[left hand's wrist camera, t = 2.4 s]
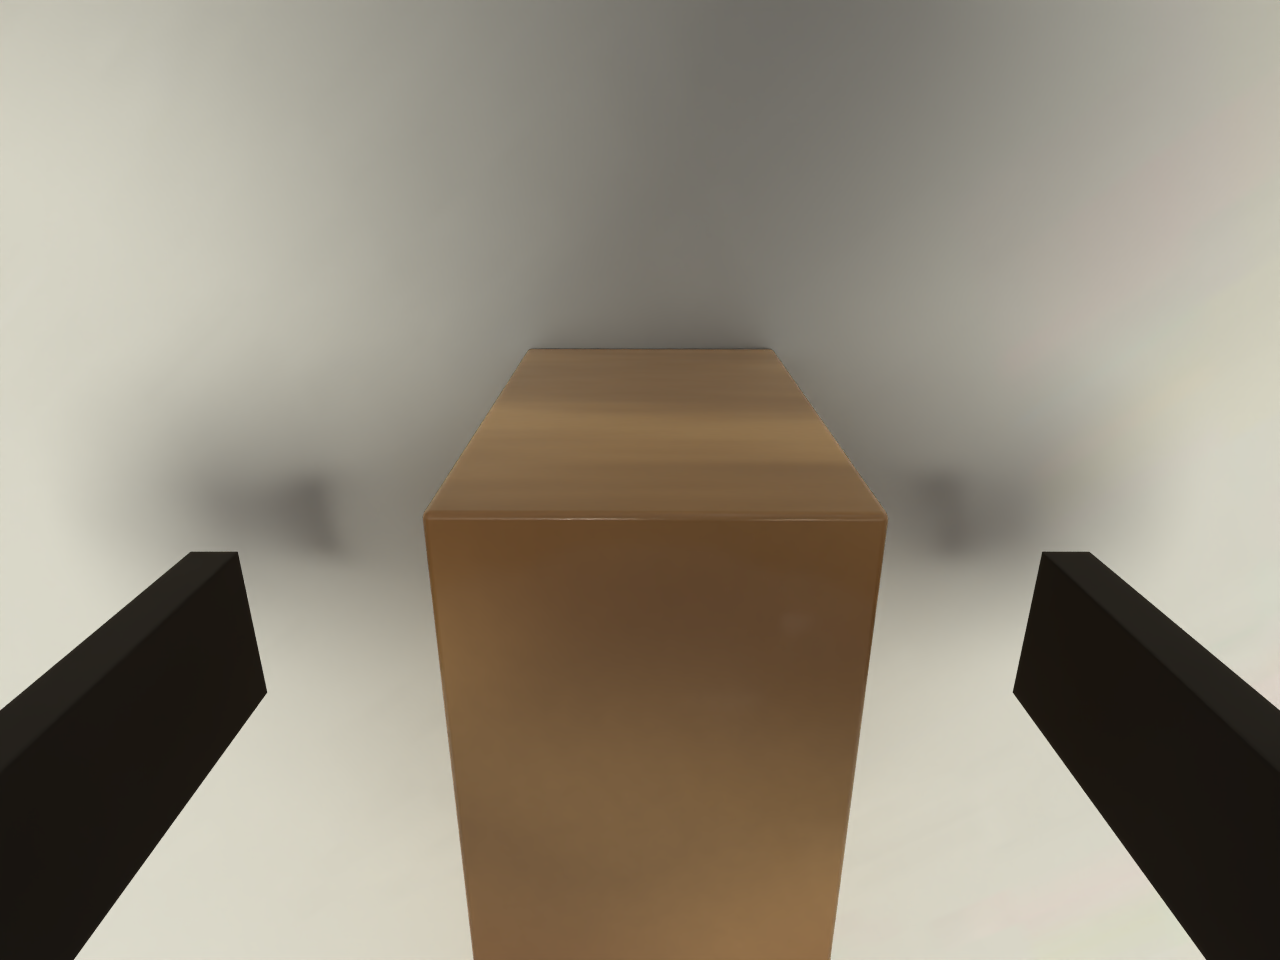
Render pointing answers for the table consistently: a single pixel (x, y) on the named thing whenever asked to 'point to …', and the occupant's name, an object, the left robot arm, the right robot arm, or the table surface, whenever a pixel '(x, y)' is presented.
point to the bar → (653, 657)
